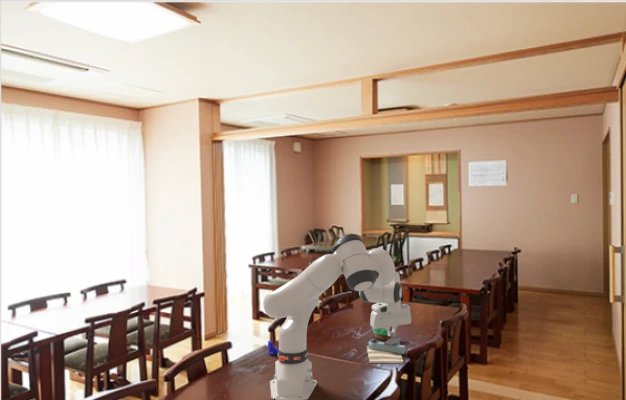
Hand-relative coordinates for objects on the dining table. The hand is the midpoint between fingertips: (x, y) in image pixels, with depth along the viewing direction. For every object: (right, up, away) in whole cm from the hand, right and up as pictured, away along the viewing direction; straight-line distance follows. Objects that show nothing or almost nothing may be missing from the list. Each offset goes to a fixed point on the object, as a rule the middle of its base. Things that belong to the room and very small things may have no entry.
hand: (391, 335), depth 202 cm
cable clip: (-52, -12, +12) cm, 54 cm away
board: (-3, -11, +5) cm, 12 cm away
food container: (-1, -11, +27) cm, 29 cm away
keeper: (+2, -11, +9) cm, 14 cm away
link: (-1, -9, +8) cm, 12 cm away
